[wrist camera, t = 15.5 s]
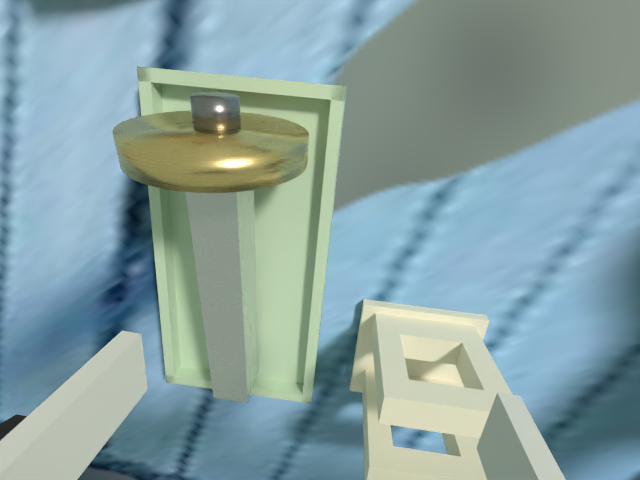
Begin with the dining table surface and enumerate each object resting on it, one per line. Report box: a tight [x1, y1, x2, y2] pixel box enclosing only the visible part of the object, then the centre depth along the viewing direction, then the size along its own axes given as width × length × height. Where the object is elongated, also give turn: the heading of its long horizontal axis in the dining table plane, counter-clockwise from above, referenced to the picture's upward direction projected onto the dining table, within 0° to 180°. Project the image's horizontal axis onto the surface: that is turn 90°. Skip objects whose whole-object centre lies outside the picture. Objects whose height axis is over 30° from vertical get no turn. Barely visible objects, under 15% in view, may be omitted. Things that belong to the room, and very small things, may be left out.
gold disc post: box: [113, 92, 309, 403], centre depth 28 cm, size 28×12×12 cm, turn 175°
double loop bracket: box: [350, 299, 512, 480], centre depth 30 cm, size 11×12×12 cm
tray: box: [137, 67, 346, 403], centre depth 32 cm, size 16×31×2 cm, turn 175°
